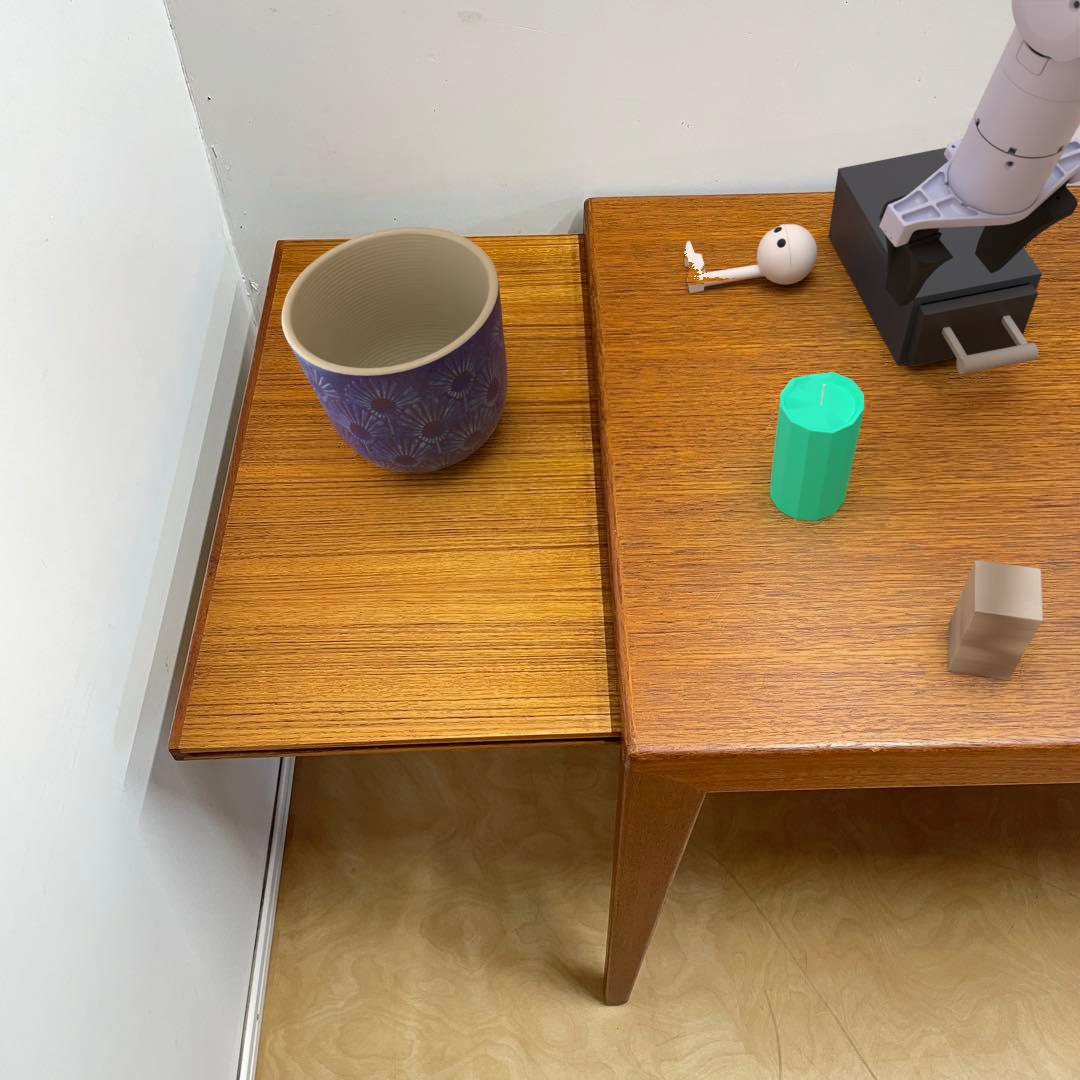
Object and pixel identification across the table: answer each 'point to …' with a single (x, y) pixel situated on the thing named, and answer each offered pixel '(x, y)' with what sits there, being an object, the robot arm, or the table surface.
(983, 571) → the block
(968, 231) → the cabinet
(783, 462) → the candle
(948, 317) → the drawer
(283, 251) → the table surface
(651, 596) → the table surface
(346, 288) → the planter
